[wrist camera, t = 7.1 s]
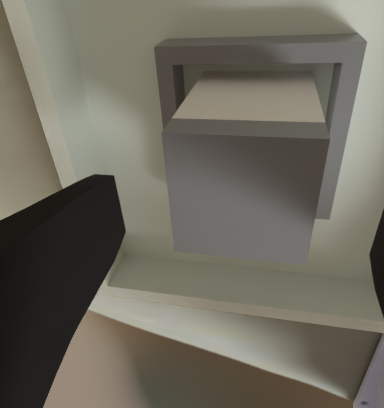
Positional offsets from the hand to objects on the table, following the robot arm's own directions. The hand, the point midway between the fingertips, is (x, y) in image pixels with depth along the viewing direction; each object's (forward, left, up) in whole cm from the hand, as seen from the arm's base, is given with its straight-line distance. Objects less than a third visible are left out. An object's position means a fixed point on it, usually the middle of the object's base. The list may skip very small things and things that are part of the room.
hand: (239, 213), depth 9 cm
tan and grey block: (0, 0, -6) cm, 6 cm away
